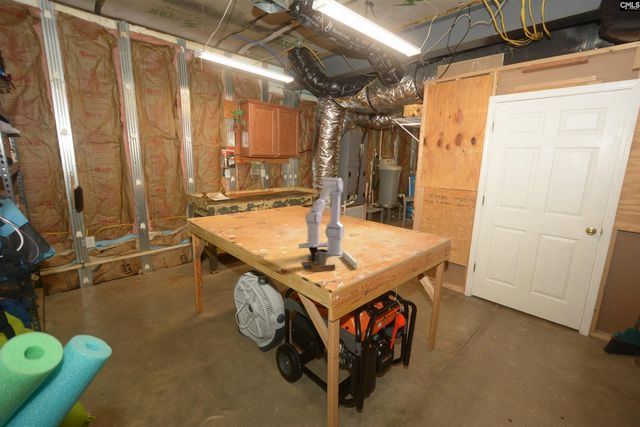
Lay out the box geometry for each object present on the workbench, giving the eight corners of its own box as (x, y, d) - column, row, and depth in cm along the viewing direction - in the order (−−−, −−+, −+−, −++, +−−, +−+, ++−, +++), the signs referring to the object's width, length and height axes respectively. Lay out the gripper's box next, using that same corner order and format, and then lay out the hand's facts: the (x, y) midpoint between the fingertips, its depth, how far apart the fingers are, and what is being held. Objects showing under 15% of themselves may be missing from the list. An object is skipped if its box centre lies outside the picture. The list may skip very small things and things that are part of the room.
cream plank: (342, 256, 159) (342, 250, 158) (344, 256, 159) (344, 250, 159) (355, 269, 140) (355, 262, 139) (357, 269, 140) (357, 262, 140)
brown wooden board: (308, 259, 153) (308, 255, 152) (326, 258, 155) (326, 254, 155) (315, 271, 137) (315, 266, 136) (335, 269, 139) (335, 265, 139)
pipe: (316, 259, 153) (318, 245, 152) (330, 267, 143) (331, 252, 142) (307, 260, 150) (308, 245, 149) (320, 268, 139) (321, 253, 138)
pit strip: (301, 262, 149) (301, 262, 148) (308, 262, 149) (308, 261, 149) (305, 269, 139) (305, 269, 139) (312, 269, 140) (312, 268, 140)
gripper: (300, 237, 136) (300, 264, 139) (329, 236, 140) (328, 262, 142) (298, 234, 143) (298, 260, 145) (325, 233, 147) (325, 258, 149)
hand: (312, 261), depth 144 cm, fingers closed
